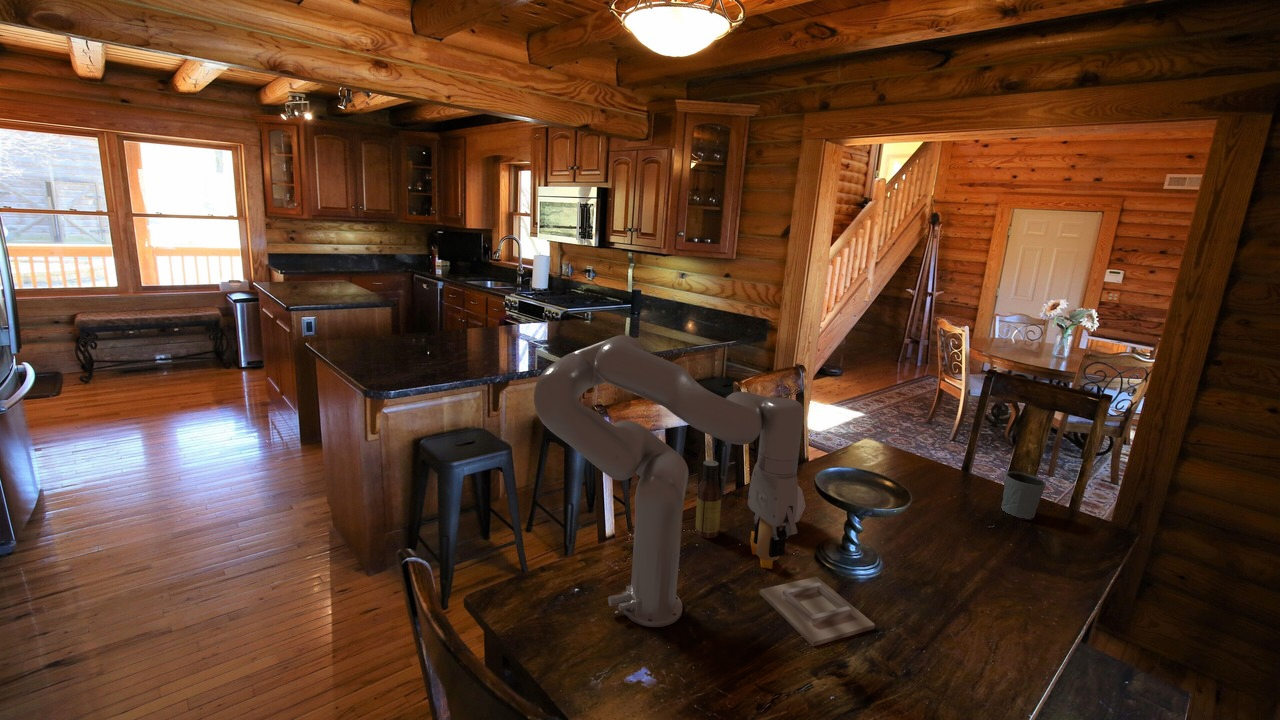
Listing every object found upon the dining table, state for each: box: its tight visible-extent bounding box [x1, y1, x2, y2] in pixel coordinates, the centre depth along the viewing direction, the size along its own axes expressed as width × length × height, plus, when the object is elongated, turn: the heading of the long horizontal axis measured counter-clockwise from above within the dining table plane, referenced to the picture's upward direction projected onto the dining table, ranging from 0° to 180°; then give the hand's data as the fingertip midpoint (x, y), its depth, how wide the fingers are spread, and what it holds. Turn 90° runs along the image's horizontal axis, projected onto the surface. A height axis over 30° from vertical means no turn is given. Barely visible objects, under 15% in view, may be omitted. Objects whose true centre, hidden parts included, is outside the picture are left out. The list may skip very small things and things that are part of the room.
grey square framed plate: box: [759, 576, 876, 647], centre depth 127 cm, size 16×18×3 cm
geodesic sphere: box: [795, 485, 807, 524], centre depth 162 cm, size 15×14×14 cm
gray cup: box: [1000, 471, 1047, 519], centre depth 178 cm, size 10×10×12 cm
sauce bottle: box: [695, 459, 722, 539], centre depth 154 cm, size 7×6×20 cm
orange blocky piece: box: [749, 530, 774, 570], centre depth 147 cm, size 12×4×6 cm, turn 174°
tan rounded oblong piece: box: [755, 517, 782, 562], centre depth 117 cm, size 4×4×8 cm
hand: (768, 548), depth 117 cm, fingers closed on tan rounded oblong piece, 4 cm apart
